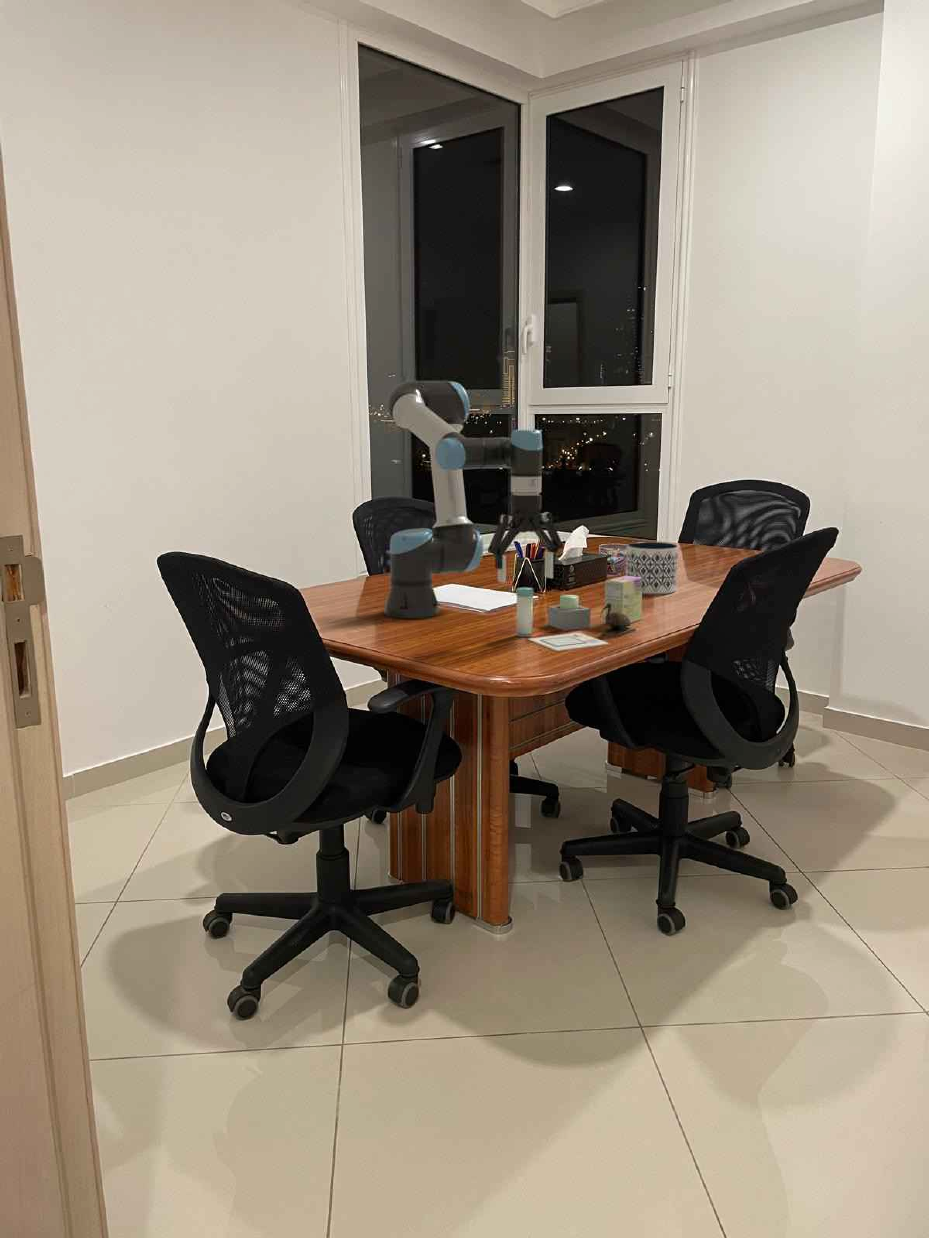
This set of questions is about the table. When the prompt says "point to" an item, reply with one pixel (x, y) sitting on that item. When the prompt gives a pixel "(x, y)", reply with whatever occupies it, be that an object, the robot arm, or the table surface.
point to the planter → (653, 566)
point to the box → (624, 596)
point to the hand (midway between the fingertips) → (525, 579)
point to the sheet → (568, 641)
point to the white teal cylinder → (524, 611)
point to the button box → (569, 618)
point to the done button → (569, 602)
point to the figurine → (616, 623)
